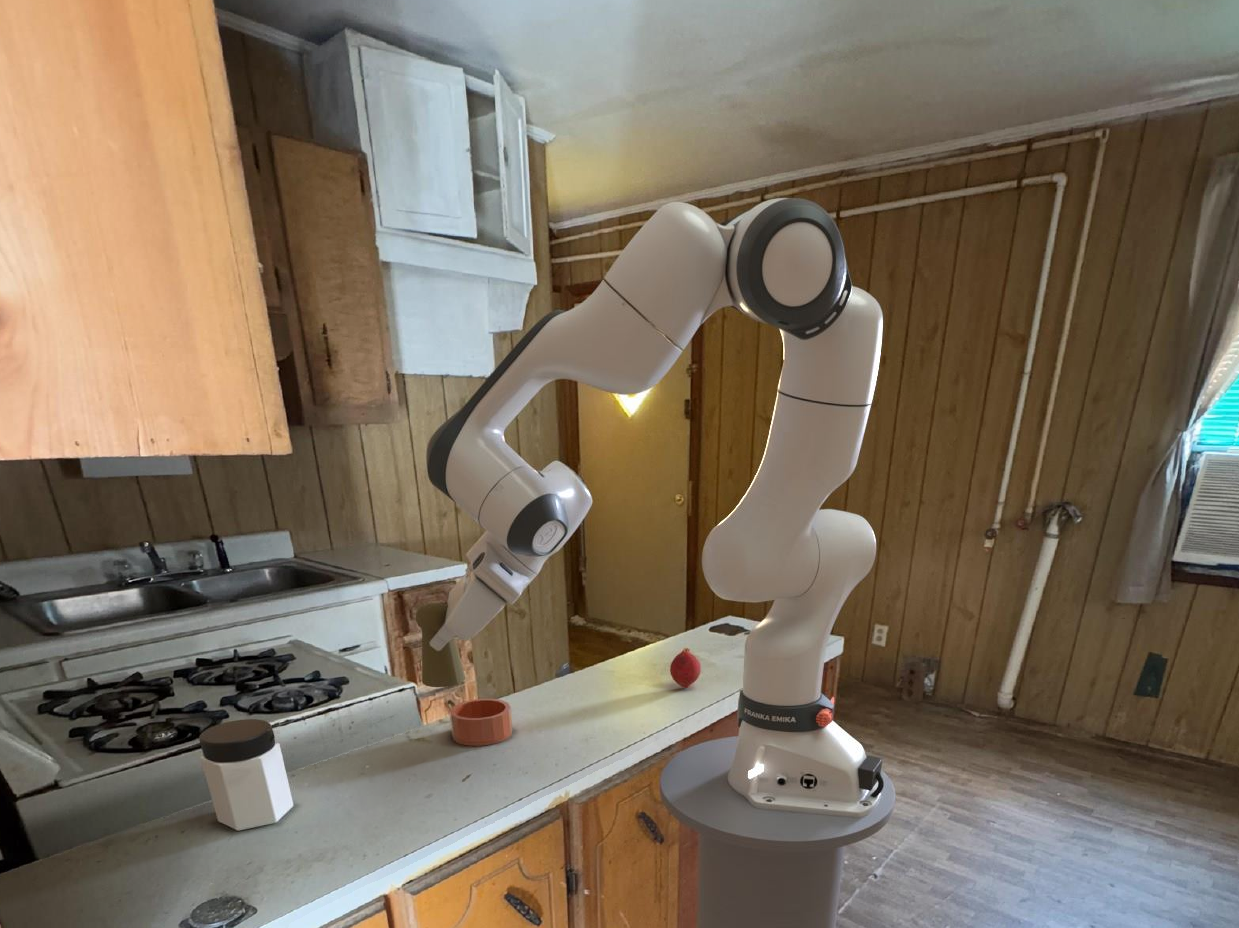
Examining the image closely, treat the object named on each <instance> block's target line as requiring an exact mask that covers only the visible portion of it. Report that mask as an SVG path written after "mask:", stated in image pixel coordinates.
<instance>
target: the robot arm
mask: <svg viewBox="0 0 1239 928" xmlns="http://www.w3.org/2000/svg"><path fill="white" fill-rule="evenodd" d="M848 267H849V266H848V263H847V259H846V253H845V246H844V242H843V238H842V236H841V233H840V230H839V228H838V226H837V223H836V222H835V220H834V219H833V217H832V216H831V215H830V214H829V212H827V210H825V209H824V208H823V207H822V206H820V205H819V204H818V203H816V202H814V201H811V200H809V199H806V198H799V197H790V198H789V197H777V198H776V197H775V198H772V199H767V200H764V201H762V202H760V203H759V204H757V205H755V206H754V207H751V208H749V209H747V210H743V212H741V213H738V214H737V215H735V216H733V217H731V218H729V219H726V220H724V221H723V222H721V223H718V222H716V221H715V220H714V219H713V218H712V217H711V216H710V215H709V214H708V213H706V212H705V211H704V210H703V209H701V208H699V207H697V206H695V205H693V204H690V203H688V202H683V201H672V202H667V203H666V204H664V205H662V206H661V207H660V208H659V209H657V210H656V212H654V214H653V215H652V216H651V217H650V218H649V219H648V220H647V221H646V222H645V223H644V224H643V225H642V227H640V229H639V230H638V231H637V232H636V233H635V235H634V236H633V237H632V239H630V241H629V242H628V243H627V245H626V246H625V247H624V248H623V249H622V251H621V252H620V253H619V255H618V257H617V258H616V259H615V260H614V262H613V263H612V264H611V266H610V268H609V269H608V271H607V273H606V274H605V275H604V277H603V279H602V280H601V282H600V283H599V285H598V286H597V288H595V290H594V291H593V292H592V293H591V294H590V295H589V296H588V297H587V298H586V299H585V300H583V301H582V302H581V303H579V304H578V305H576V306H575V307H573V308H571V309H569V310H563V309H556V310H552V311H551V312H549V313H547V314H546V315H544V316H543V317H542V318H541V319H540V320H538V321H537V322H536V323H535V324H534V325H532V327H531V328H530V329H529V330H528V331H527V332H526V333H525V335H523V336H522V338H521V339H520V340H519V341H518V342H517V343H516V344H515V346H514V347H513V348H512V349H511V350H510V351H509V353H508V354H507V355H505V357H504V358H503V359H502V360H501V362H500V363H499V364H498V366H497V367H495V369H494V370H493V371H492V372H491V374H490V375H489V376H488V377H487V378H486V379H485V381H484V382H483V383H482V384H481V386H479V388H478V389H477V390H476V391H475V392H474V393H473V395H472V396H471V397H470V398H469V399H468V400H467V402H466V403H465V404H464V405H463V406H462V407H461V408H459V410H457V411H456V412H455V413H454V414H453V415H451V417H449V418H448V419H447V420H446V421H444V423H442V424H441V425H440V426H439V427H438V428H437V429H436V430H435V431H434V432H433V434H432V435H431V437H430V438H429V441H428V442H427V446H426V456H425V459H426V460H425V461H426V462H425V463H426V471H427V476H428V479H429V482H430V483H431V484H432V485H433V486H434V487H435V488H436V489H437V490H439V491H440V492H442V494H444V495H445V496H446V497H448V498H449V499H450V500H451V501H453V502H454V503H456V504H457V505H458V506H459V507H460V508H461V509H462V510H463V511H464V512H465V513H466V514H468V515H469V517H470V518H472V520H474V521H475V523H477V524H478V525H479V526H480V528H483V529H484V530H485V532H483V533H482V535H481V536H480V537H479V539H477V541H476V542H475V543H474V544H473V545H472V547H471V548H470V549H469V550H467V552H466V554H465V556H466V558H467V560H468V561H469V562H470V563H469V565H468V566H467V567H466V568H465V574H464V575H463V576H462V577H461V578H460V579H459V580H458V582H456V584H455V585H453V587H452V589H450V591H449V593H448V598H447V604H448V608H447V612H446V620H445V623H444V625H443V626H442V627H441V629H440V630H439V631H438V632H436V634H435V635H434V636H433V637H432V638H431V640H430V646H432V647H433V648H434V649H435V650H437V651H440V650H441V649H442V648H443V647H444V646H445V645H446V644H447V643H448V642H449V641H451V640H452V639H453V638H455V639H456V638H458V639H460V640H461V641H462V642H468V641H469V640H471V639H473V638H474V637H475V636H476V635H477V634H479V633H480V631H482V630H483V629H484V628H485V627H486V626H487V625H488V624H489V623H490V622H491V621H492V620H493V619H494V618H495V617H496V616H497V615H498V614H499V613H500V612H501V611H502V610H503V609H504V608H505V607H506V605H507V603H508V604H509V605H514V603H516V602H517V600H518V599H519V598H520V597H521V595H522V593H523V592H524V590H525V589H527V587H528V586H529V585H530V584H531V583H532V582H533V580H534V579H535V578H536V577H537V576H538V575H539V573H540V572H541V571H542V568H543V566H544V564H545V562H546V561H547V560H548V559H549V558H550V557H551V556H553V555H554V554H557V552H559V551H560V550H561V549H562V548H563V546H564V545H565V544H566V543H567V542H568V540H569V539H570V538H571V537H572V536H573V534H574V533H575V532H576V530H577V529H578V528H579V526H580V525H581V523H582V522H583V520H584V519H585V517H586V516H587V515H588V513H589V511H590V509H591V507H592V505H593V497H592V493H591V491H590V489H589V488H588V486H587V485H586V484H585V483H584V481H583V479H582V478H581V477H580V476H579V474H577V473H576V472H575V471H574V470H573V469H572V468H571V467H569V466H568V465H567V464H565V463H563V462H562V461H560V460H553V461H552V462H550V463H549V464H548V465H546V466H545V467H544V468H542V470H536V469H535V468H533V467H532V466H531V465H530V464H529V463H528V462H526V461H525V459H523V458H522V457H521V456H520V455H519V454H518V453H517V452H516V451H515V450H514V449H513V448H512V447H511V446H510V445H509V444H507V442H506V440H505V436H504V435H505V430H506V428H507V427H508V426H509V425H510V424H511V423H512V421H514V419H515V418H516V417H517V416H518V415H519V413H520V412H521V411H522V410H523V409H524V408H525V407H526V406H527V405H528V404H529V403H530V401H532V399H533V398H534V397H535V396H536V394H538V393H539V391H541V389H542V388H543V387H544V386H546V385H547V384H549V383H552V382H553V381H557V380H570V381H573V382H578V383H579V384H582V385H583V384H584V385H586V386H589V387H591V388H594V389H597V390H600V391H603V392H606V393H609V394H613V395H623V396H626V395H627V396H628V395H637V394H640V393H644V392H646V391H648V390H650V389H652V388H654V387H655V386H656V385H657V384H658V383H659V382H660V381H661V380H662V379H663V378H664V377H665V375H666V374H667V373H668V372H669V371H670V370H671V368H672V367H673V366H674V365H675V363H676V362H677V360H678V359H679V357H680V356H681V355H682V353H683V351H684V350H685V349H686V348H687V346H688V345H689V343H690V341H691V340H692V339H693V337H694V335H695V334H696V332H697V331H698V329H699V328H700V327H701V325H702V324H704V323H705V322H706V320H707V319H709V317H711V316H712V315H713V314H715V312H717V311H719V310H721V309H723V308H726V307H731V308H733V309H735V310H736V311H739V312H740V313H742V314H744V315H745V316H747V317H749V318H750V319H752V320H754V321H756V322H759V323H764V324H768V325H770V326H773V327H775V328H777V329H778V330H779V331H780V334H781V339H782V343H783V344H782V345H783V357H782V358H783V364H782V367H781V372H780V377H779V382H778V386H777V393H776V398H775V404H774V409H773V413H772V417H771V418H772V419H771V424H770V429H769V434H768V437H767V442H766V447H765V450H764V454H763V456H762V460H761V463H760V465H759V468H758V470H757V472H756V475H754V478H753V480H752V482H751V484H750V486H749V488H748V489H747V491H746V492H745V494H744V496H743V497H742V498H741V500H740V501H739V503H738V504H737V505H736V507H735V508H734V509H733V510H732V511H731V513H730V514H729V515H728V516H726V517H725V518H724V519H723V520H722V521H721V522H719V524H718V523H717V525H716V526H714V527H713V528H712V530H711V531H709V534H708V535H707V536H706V539H705V542H704V544H703V547H702V552H701V553H702V554H701V568H702V573H703V576H704V579H705V581H706V583H707V586H708V587H709V588H710V590H711V591H712V592H713V593H714V594H715V596H717V597H719V598H720V599H722V600H725V601H732V602H733V601H734V602H740V603H741V602H742V603H755V604H756V603H762V602H770V601H773V603H772V605H771V608H770V609H769V611H768V613H767V614H766V615H765V616H764V618H763V619H762V620H761V621H760V622H759V623H758V624H756V625H755V626H754V627H753V628H752V630H750V632H749V633H748V634H747V637H746V640H745V643H744V650H743V651H744V654H743V672H742V673H743V674H742V675H743V676H742V689H741V690H739V696H738V700H737V715H736V716H737V727H738V728H739V730H738V735H737V736H738V741H737V746H736V751H735V755H734V759H733V762H732V766H731V769H730V771H729V774H728V777H727V779H728V783H729V784H730V786H731V787H732V788H733V789H734V790H735V791H737V792H738V793H740V794H742V795H743V796H745V797H746V798H747V799H748V801H749V803H750V804H751V805H752V806H753V807H755V808H758V809H767V810H777V811H788V812H799V813H809V814H820V815H831V816H841V817H852V818H861V817H863V816H866V815H868V814H869V813H871V812H872V811H873V810H874V809H875V808H876V807H877V805H878V804H879V801H880V798H881V791H882V789H883V786H884V782H883V778H882V776H881V770H882V767H883V757H878V756H873V755H866V751H865V748H864V747H863V745H862V744H861V743H860V742H859V741H858V740H856V739H855V738H854V737H853V736H852V735H850V734H849V733H848V732H847V731H845V730H844V729H843V728H842V727H841V726H839V724H837V723H836V722H835V721H834V720H833V719H834V715H835V714H834V713H835V697H834V696H831V699H829V698H828V697H827V696H826V695H824V694H823V693H822V683H823V675H824V667H825V658H826V651H827V647H828V643H829V639H830V635H831V632H832V630H833V627H834V624H835V622H836V620H837V618H838V615H839V613H840V611H841V609H842V608H843V606H844V604H845V602H846V600H847V598H848V597H849V596H850V594H851V593H852V591H853V590H854V589H855V588H856V586H857V585H858V584H859V583H860V582H861V581H862V580H864V578H865V577H867V575H868V574H869V573H870V571H871V570H872V569H873V565H874V563H875V560H876V555H877V540H876V536H875V533H874V530H873V528H872V526H871V525H870V523H869V522H868V520H866V518H865V517H863V516H861V515H860V514H856V513H853V512H849V511H845V510H839V509H833V508H824V509H823V508H822V509H820V508H821V507H822V505H823V504H824V503H825V501H826V500H827V498H828V497H830V495H831V494H832V493H833V492H834V491H835V490H836V489H838V488H839V487H840V486H842V484H844V483H845V482H846V481H847V480H848V479H849V478H850V477H851V476H852V474H853V473H854V471H855V469H856V467H857V464H858V460H859V455H860V451H861V449H862V445H863V440H864V435H865V431H866V427H867V423H868V419H869V414H870V411H871V406H872V402H873V399H874V393H875V389H876V385H877V379H878V378H877V377H878V373H879V366H880V359H881V350H882V341H883V326H884V325H883V324H884V316H883V310H882V308H881V304H880V303H879V302H878V301H877V299H876V298H875V297H873V295H871V294H870V293H869V292H867V291H865V290H864V289H862V288H860V287H857V286H854V285H853V282H852V279H851V276H850V272H849V268H848Z"/></svg>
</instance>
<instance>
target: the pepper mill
mask: <svg viewBox="0 0 1239 928" xmlns="http://www.w3.org/2000/svg"><path fill="white" fill-rule="evenodd" d="M447 608H448V603H444V602H430V603H426V604H422V605H420V606H419V607H418V608H417V610H416V612H415V620H416V621H415V622H416V623H417V626H418V627H419V628H420V629H421V682H422V685H424V686H425V687H430V688H449V687H454V686H456V685H460V684H461V683H463V682H464V681H466V674H465V670H464V666H463V662H462V659H461V655H460V652H459V647H458V643H457V639H456V637H455V638H453V639H452V640H451V641H449V642H448V643H447V644H446V645H445V646H444V647H443V648H442V649H441V650H440V651H437V650H435V649H434V648H433V647H432V646H430V640H431V638H432V637H433V636H434V635H435V634H436V632H438V631H439V630H440V629H441V627H442V626H443V625H444V623H445V620H446V612H447Z"/></svg>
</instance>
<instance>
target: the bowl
mask: <svg viewBox="0 0 1239 928" xmlns="http://www.w3.org/2000/svg"><path fill="white" fill-rule="evenodd" d="M511 708H512V707H511V705H510V704H509V702H506V701H505V700H502V699H496V698H475V699H469V700H466V701H462V702H459V703H457V704H455V705H453V706H452V707H451V708H450V710H448V711H449V712H448V713H449V721H450V729H451V734H452V738H453V740H454V742H456V743H457V744H460V745H464V746H469V747H470V746H471V747H482V746H490V745H494V744H498V743H500V742H503V741H506V740H507V739H509V738H510V737H511V736H512V734H513V721H512V720H513V719H512V709H511Z"/></svg>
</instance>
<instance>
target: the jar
mask: <svg viewBox="0 0 1239 928" xmlns="http://www.w3.org/2000/svg"><path fill="white" fill-rule="evenodd" d="M275 736H276V735H275V731H274V730H273V726H272V724H271V723H270V722H268V721H266V720H262V719H258V718H257V719H256V718H249V719H248V718H247V719H237V720H231V721H226V722H222V723H219V724H216V725H213V726H211V727H209V728H207V729H205V730H204V731H203V732H201V733H200V735H199V737H198V740H199V743H200V748H201V751H202V755H201V756H200V757H199V759H200V761H201V765H202V769H203V772H204V776H205V780H206V783H207V787H208V791H209V794H210V797H211V801H212V804H213V805H212V806H213V808H214V811H215V814H216V819H217V822H219V823H221V824H223V825H225V826H227V827H228V828H231V829H233V830H235V831H238V832H240V831H244V830H249V829H254V828H258V827H263V826H267V825H272V824H276V823H278V822H279V821H280V820H281V819H282V818H283V817H284V816H285V815H286V814H288V812H289V811H290V810H291V809H292V808H293V807H294V802H293V797H292V792H291V789H290V784H289V783H290V782H289V779H288V776H287V775H288V774H287V770H286V766H285V762H284V757H283V753H282V749H281V744H280V743H279V742H276V739H275Z"/></svg>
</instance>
